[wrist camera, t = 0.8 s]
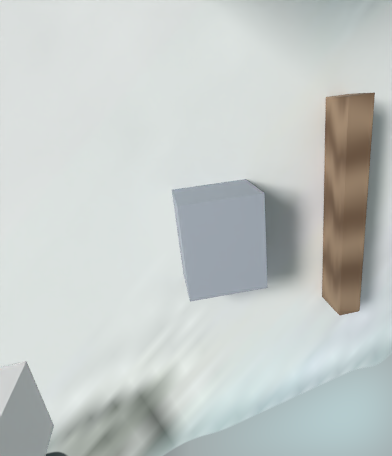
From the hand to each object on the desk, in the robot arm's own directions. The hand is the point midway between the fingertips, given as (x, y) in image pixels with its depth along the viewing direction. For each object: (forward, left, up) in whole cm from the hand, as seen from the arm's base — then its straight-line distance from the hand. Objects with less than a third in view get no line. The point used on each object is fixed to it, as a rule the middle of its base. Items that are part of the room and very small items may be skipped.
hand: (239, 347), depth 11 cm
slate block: (+6, +4, -25) cm, 26 cm away
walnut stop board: (+6, +18, -25) cm, 31 cm away
